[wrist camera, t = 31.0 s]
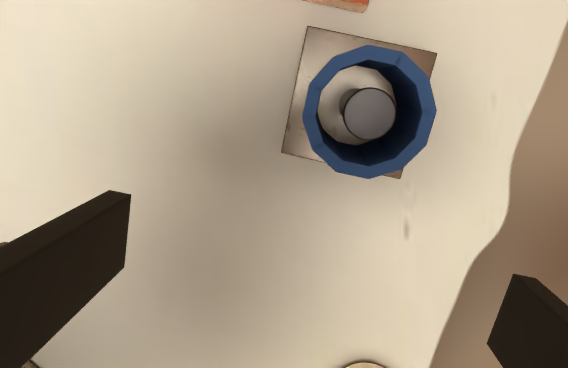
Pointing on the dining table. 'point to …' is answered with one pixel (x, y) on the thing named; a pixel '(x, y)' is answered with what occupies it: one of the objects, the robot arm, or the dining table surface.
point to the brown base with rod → (345, 94)
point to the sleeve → (405, 131)
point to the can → (364, 365)
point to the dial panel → (345, 4)
